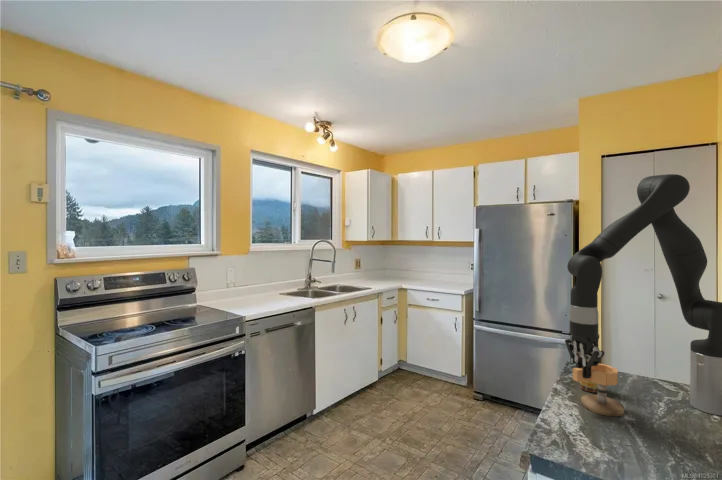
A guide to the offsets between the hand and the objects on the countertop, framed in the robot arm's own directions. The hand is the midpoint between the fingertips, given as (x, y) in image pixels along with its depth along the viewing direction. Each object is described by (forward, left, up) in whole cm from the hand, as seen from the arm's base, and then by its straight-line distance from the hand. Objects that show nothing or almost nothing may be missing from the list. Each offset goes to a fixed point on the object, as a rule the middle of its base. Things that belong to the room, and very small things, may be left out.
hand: (583, 376), depth 108 cm
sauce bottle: (-13, -12, -10) cm, 20 cm away
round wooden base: (-7, 0, -10) cm, 12 cm away
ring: (-4, 0, -1) cm, 4 cm away
